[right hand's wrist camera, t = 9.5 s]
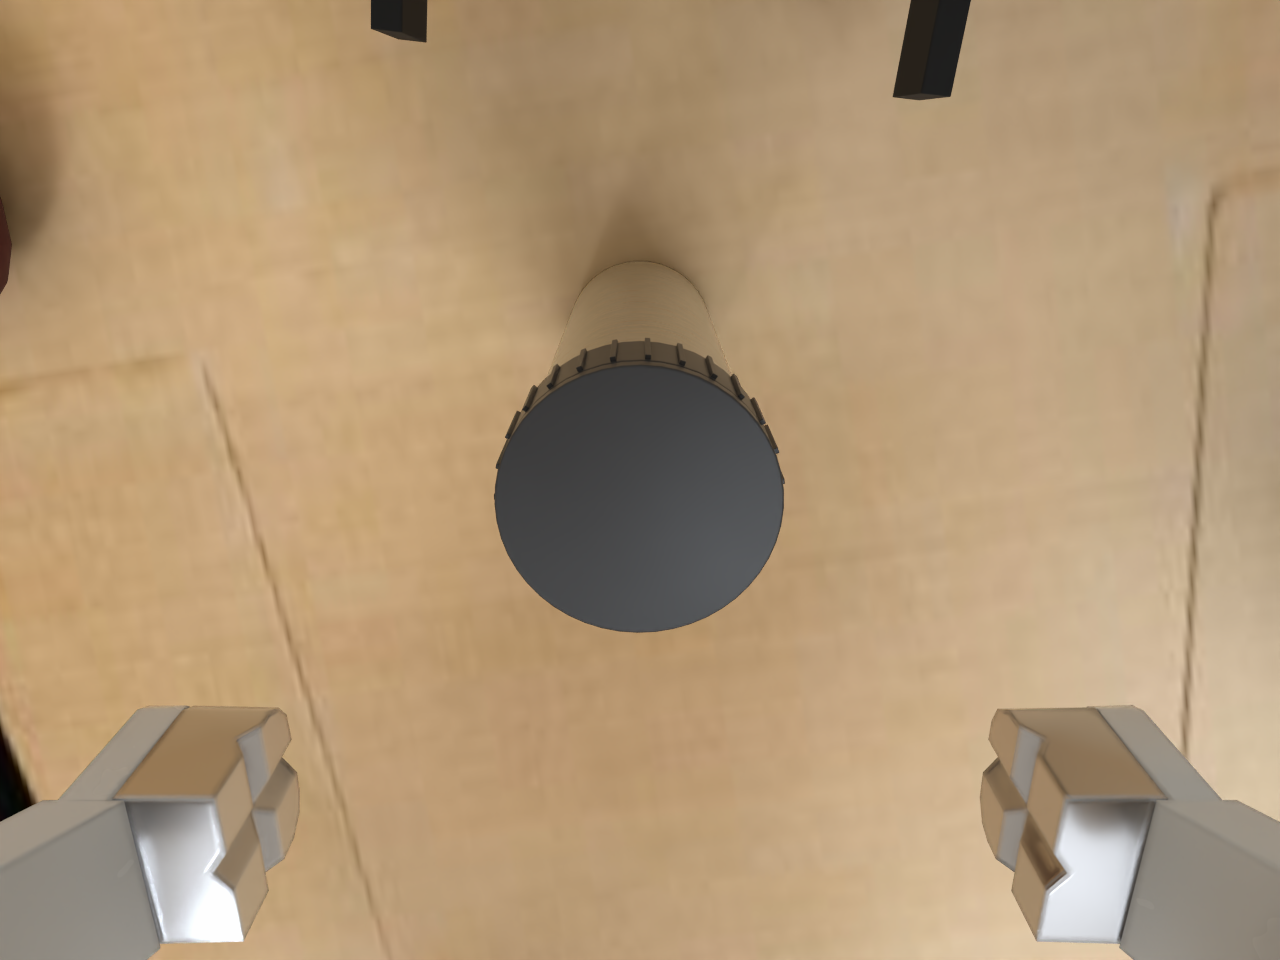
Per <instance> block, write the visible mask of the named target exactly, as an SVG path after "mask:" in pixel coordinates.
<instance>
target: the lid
mask: <svg viewBox="0 0 1280 960" xmlns="http://www.w3.org/2000/svg"><path fill="white" fill-rule="evenodd" d="M765 423H766V422H765V420H764V417H763V415H762V413H761V410H760V408H759V406H758V403H757V401H756V400H755V398H752V399H750V398H749V396H748V395H747V393H746V392H745V391H744V390H743V389H742V387H741V385H740V383H739V380H738V378H737V376H736V375H735V374H733V375H732V376H730V375H729V374H728V373H727V372H725V371H724V370H723V369H722V368H720V367H719V366H717V365H716V364H714V362H713V359H712V357H710V356H709V355H707V357H706V358H704V357H702V356H700V355H698V354H697V353H695V352H692V351H689V350H686V349H684V348H683V345H682V344H680V343H677V345H676V346H674V345H669V344H665V343H660V342H650V338H645V341H631V342H620V343H618V340H617V339H615V340H612V344H609V345H604V346H601V347H598V348H595V349H592V350H589V351H587V350H586V348H584V349H582V350H581V352H580V355H578V356H576V357H574V358H572V359H571V360H569V361H567V362H566V363H564V364H563V365H561V366H559V365H558V364H556V365H555V366H553V369H552V372H551V374H550V375H549V376H548V377H546V378H545V379H544V380H543V381H542V383H541V384H540V385H539V386H538V387H536V386H535V385H534V386H533V387H532V388H531V390H530V392H529V395H528V397H527V399H526V402H525V404H524V406H523V409H522V411H521V412H519V411H517V412H516V414H515V416H514V418H513V420H512V423H511V425H510V427H509V430H508V432H507V434H506V436H505V438H507V441H506V443H505V445H504V448H503V450H502V452H501V454H500V457H499V459H498V461H497V464H496V468H497V469H498V472H497V478H496V484H495V494H494V500H495V511H496V520H497V524H498V528H499V532H500V536H501V539H502V542H503V544H504V546H505V549H506V551H507V554H508V556H509V557H510V559H511V561H512V562H513V564H514V566H515V568H516V569H517V571H518V572H519V573H520V574H521V576H522V577H523V578H524V580H525V581H526V582H527V583H528V584H529V585H530V586H531V587H532V588H533V589H534V590H535V591H536V592H537V593H538V594H539V595H540V596H541V597H542V598H543V599H545V600H546V601H547V602H548V603H550V604H551V605H552V606H554V607H555V608H557V609H559V610H560V611H562V612H564V613H565V614H567V615H569V616H571V617H573V618H575V619H578V620H580V621H582V622H584V623H587V624H591V625H594V626H597V627H600V628H604V629H610V630H615V631H622V632H636V633H639V632H657V631H663V630H669V629H674V628H678V627H682V626H685V625H689V624H691V623H694V622H696V621H699V620H701V619H704V618H706V617H708V616H710V615H711V614H713V613H715V612H717V611H719V610H720V609H722V608H723V607H725V606H726V605H727V604H729V603H730V602H732V601H733V600H734V599H736V598H737V597H738V596H739V595H740V594H741V593H742V592H743V591H744V590H745V589H746V588H747V587H748V586H749V585H750V584H751V583H752V582H753V580H754V579H755V578H756V577H757V575H758V574H759V573H760V572H761V570H762V568H763V567H764V565H765V564H766V562H767V560H768V559H769V557H770V555H771V552H772V550H773V548H774V546H775V544H776V541H777V538H778V534H779V531H780V527H781V523H782V516H783V509H784V488H783V484H785V481H784V477H783V475H782V472H781V470H780V466H779V463H778V459H777V456H776V454H777V453H779V450H778V447H777V445H776V443H775V440H774V438H773V436H772V434H771V431H770V429H769V427H768V425H765V426H764V425H763V424H765Z"/></svg>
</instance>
